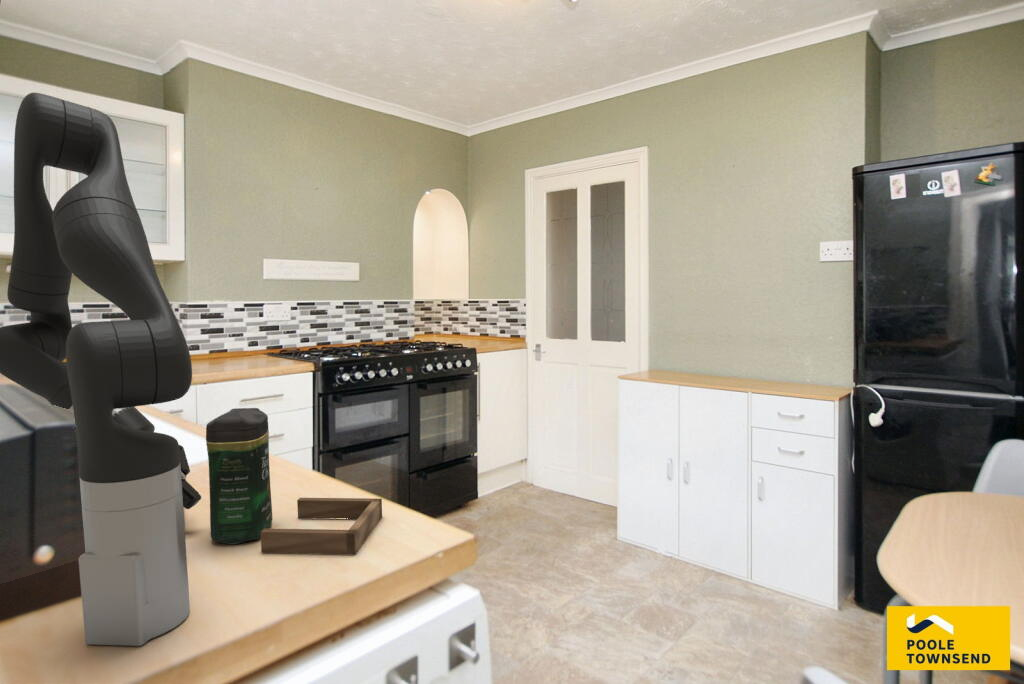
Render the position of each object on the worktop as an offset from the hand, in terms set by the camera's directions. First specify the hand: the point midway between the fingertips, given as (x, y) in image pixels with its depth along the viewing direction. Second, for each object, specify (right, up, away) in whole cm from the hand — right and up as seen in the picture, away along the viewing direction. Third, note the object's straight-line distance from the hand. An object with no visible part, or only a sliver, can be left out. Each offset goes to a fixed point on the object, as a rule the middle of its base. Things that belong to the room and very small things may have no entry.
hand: (195, 503), depth 90 cm
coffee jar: (+7, -5, 0) cm, 9 cm away
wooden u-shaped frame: (+19, -4, -1) cm, 20 cm away
